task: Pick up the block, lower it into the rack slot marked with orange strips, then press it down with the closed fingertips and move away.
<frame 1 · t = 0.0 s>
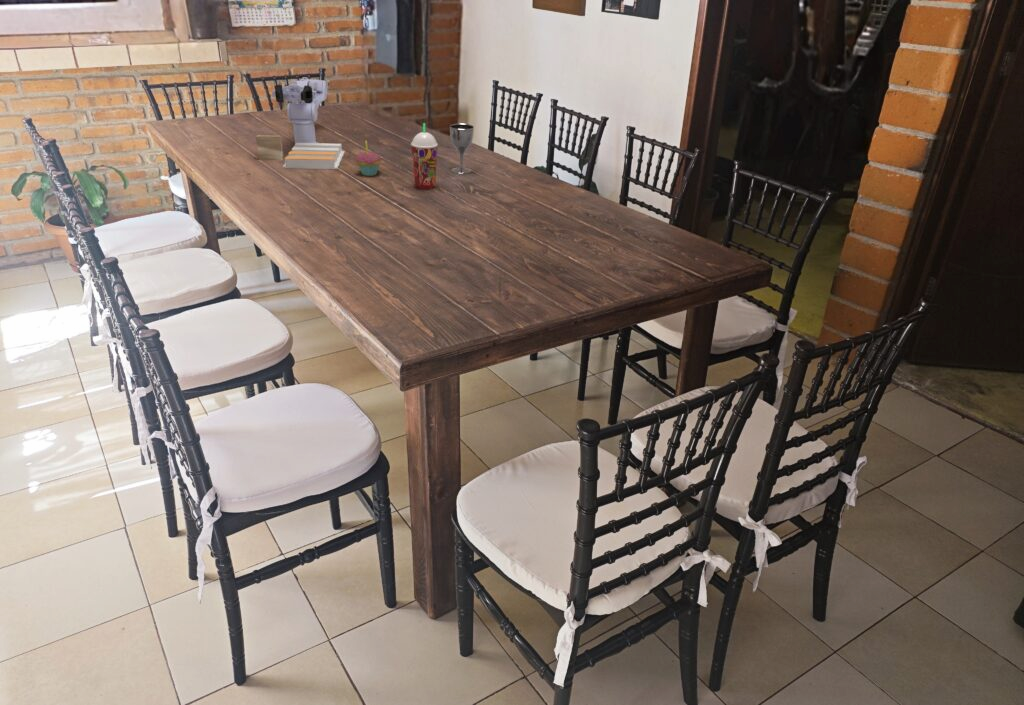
hand: (290, 96, 250), 22 cm above the table, tool horizontal, fingers open, 7 cm apart
rack: (315, 159, 263), on the table
wine glass: (461, 171, 259), on the table
smoothie: (425, 187, 242), on the table
cupcake: (369, 174, 251), on the table
block: (271, 159, 261), on the table
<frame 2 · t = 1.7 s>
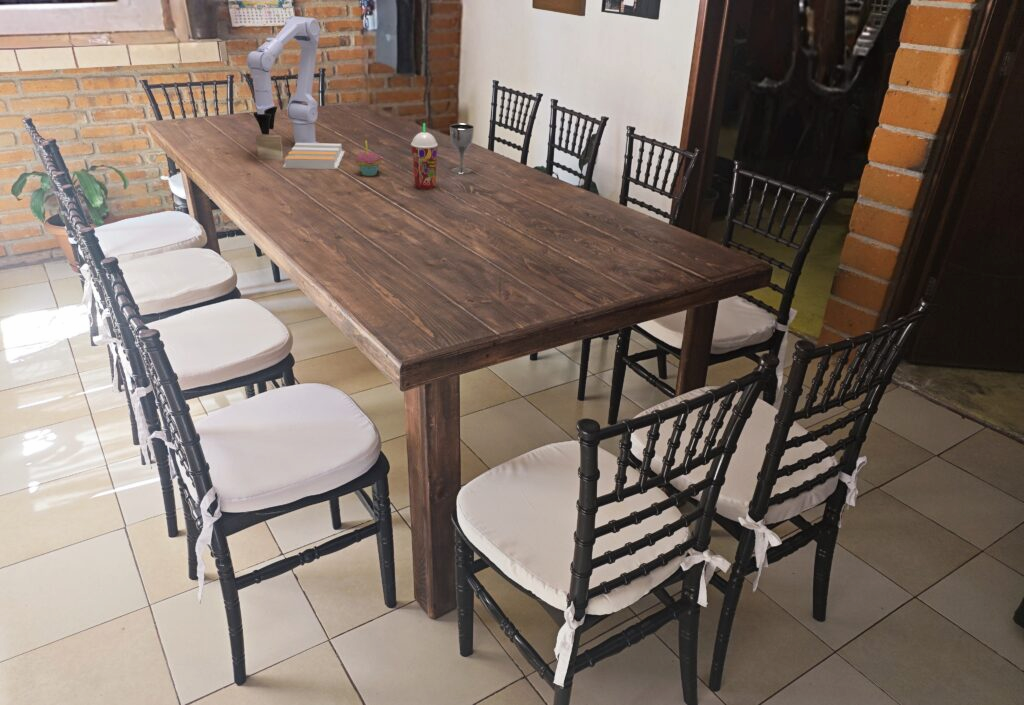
hand: (267, 131, 257), 9 cm above the table, tool pointing down, fingers open, 7 cm apart
nothing on the table moved.
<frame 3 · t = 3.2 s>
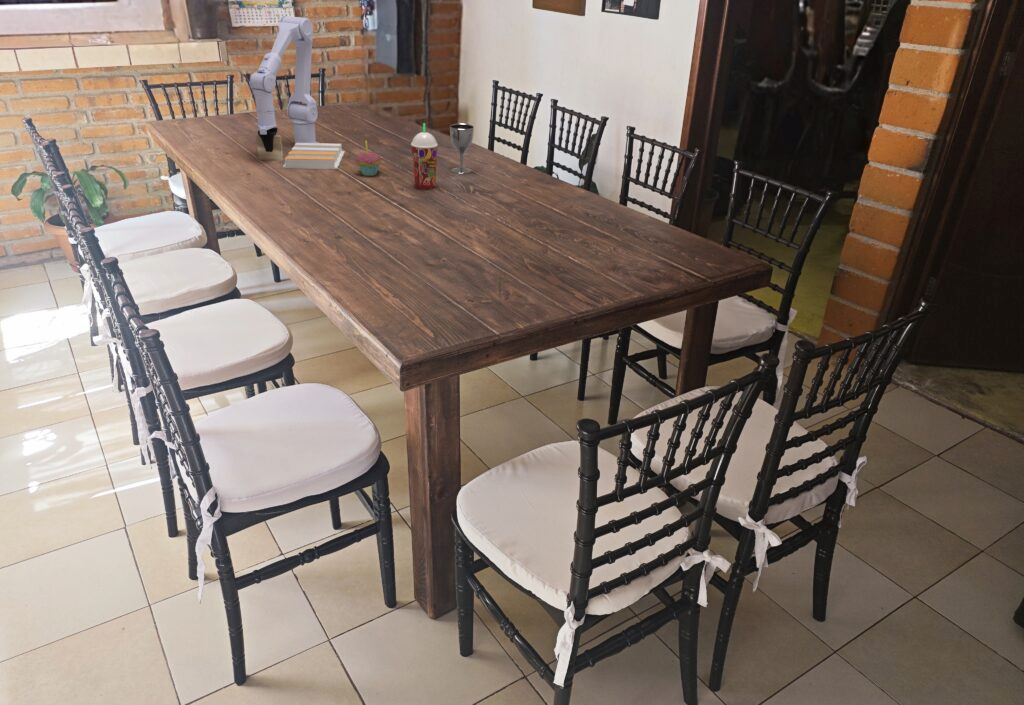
hand: (270, 150, 260), 3 cm above the table, tool pointing down, fingers closed on block, 2 cm apart
block: (271, 159, 261), on the table, touching gripper
everything else where it was.
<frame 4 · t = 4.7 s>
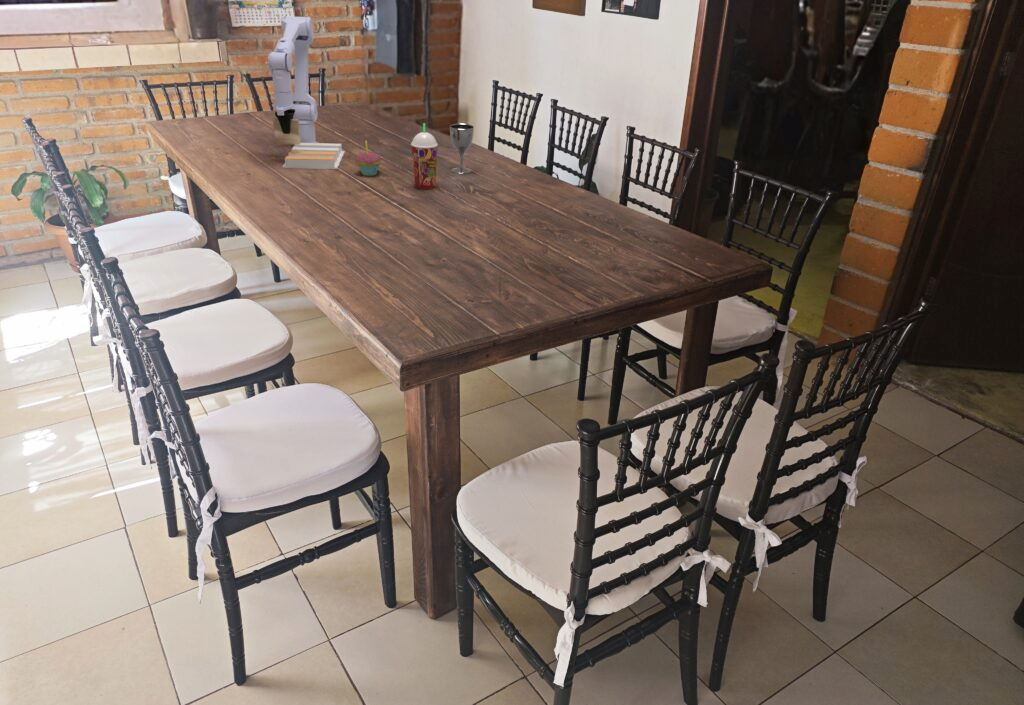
hand: (287, 132, 254), 10 cm above the table, tool pointing down, fingers closed on block
block: (288, 143, 256), point 6 cm above the table, touching gripper
everything else where it was.
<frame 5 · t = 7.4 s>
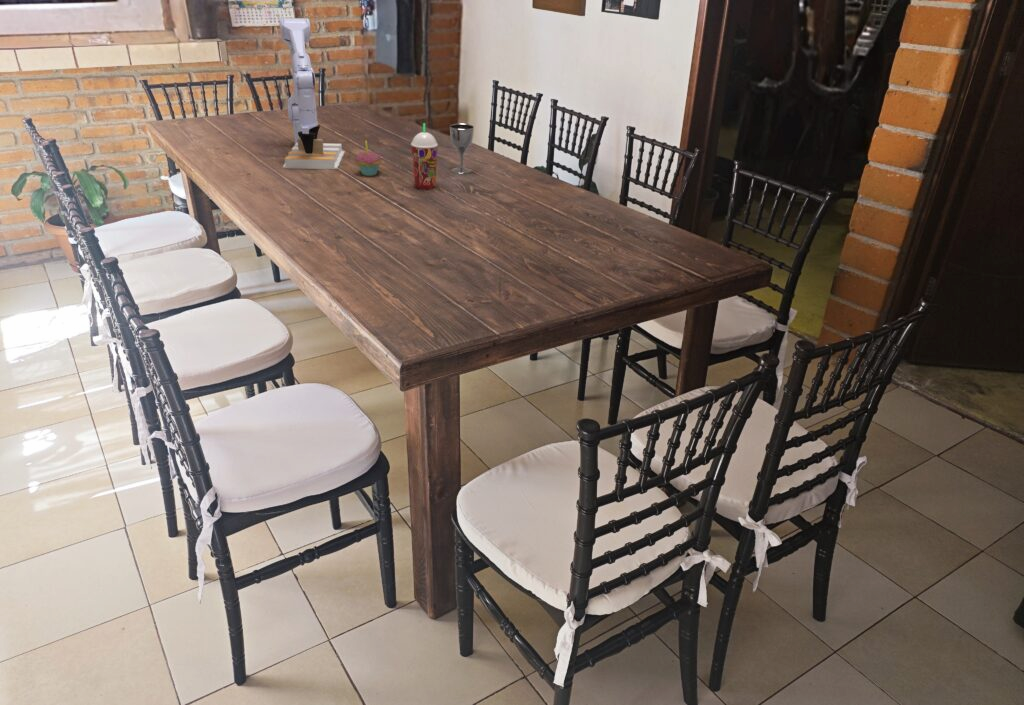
hand: (310, 150, 255), 5 cm above the table, tool pointing down, fingers open, 7 cm apart
block: (312, 163, 257), point 1 cm above the table, touching rack
everything else where it was.
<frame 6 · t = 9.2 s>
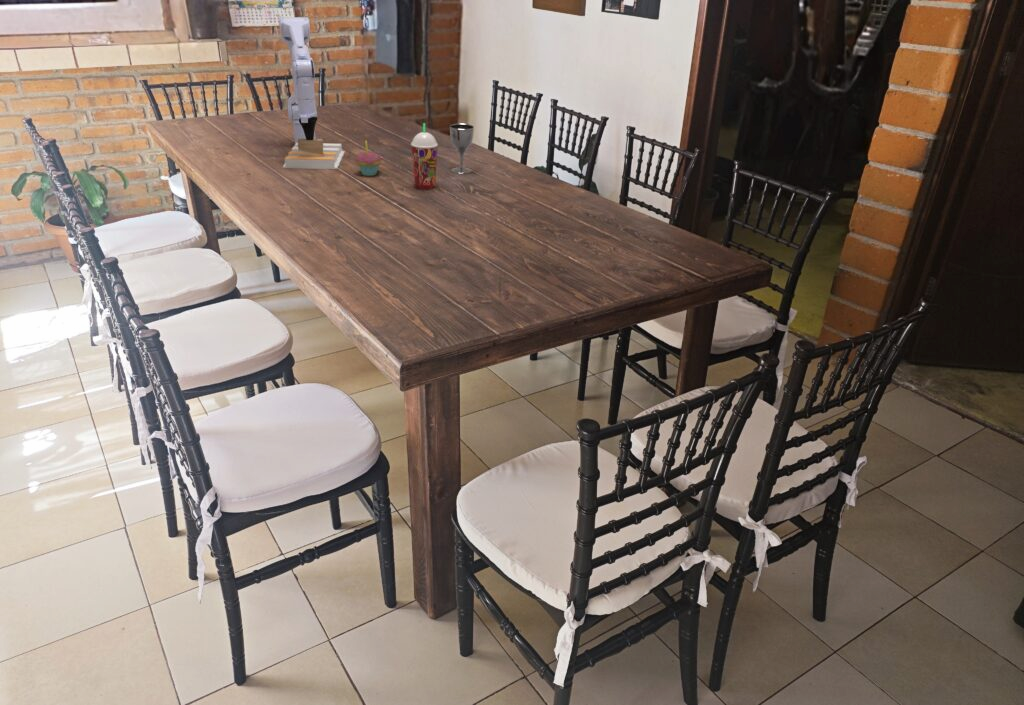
hand: (310, 140, 253), 8 cm above the table, tool pointing down, fingers closed, pressing on block
block: (312, 163, 257), point 1 cm above the table, touching gripper, rack
everything else where it was.
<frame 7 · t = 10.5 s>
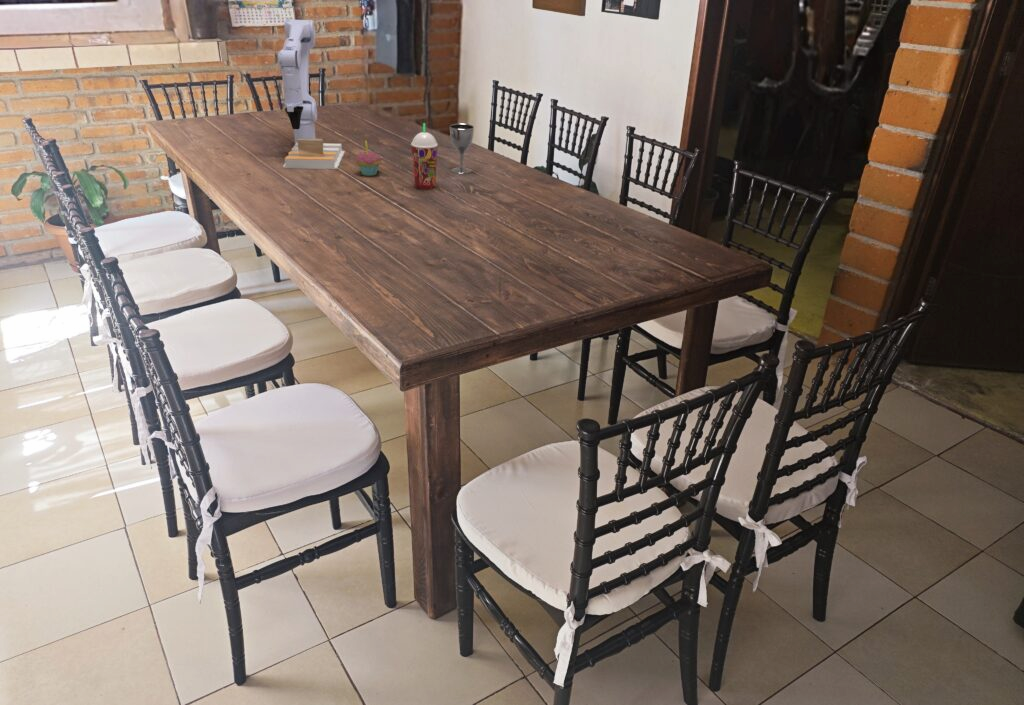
hand: (296, 128, 260), 10 cm above the table, tool pointing down, fingers closed
block: (312, 163, 257), point 1 cm above the table, touching rack
everything else where it was.
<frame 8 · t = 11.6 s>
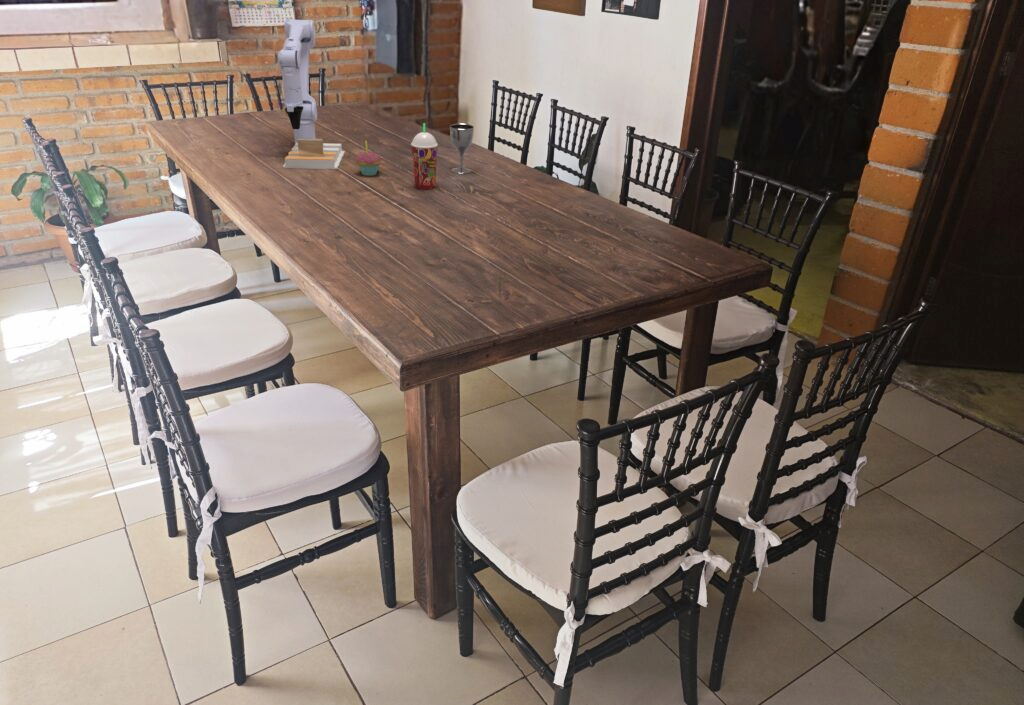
hand: (296, 128, 260), 10 cm above the table, tool pointing down, fingers closed
nothing on the table moved.
at the end: block inside the target area on the rack (0.0 cm from its centre), point 0.6 cm above the rack's base; block tilted 0°; the gripper is holding nothing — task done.
